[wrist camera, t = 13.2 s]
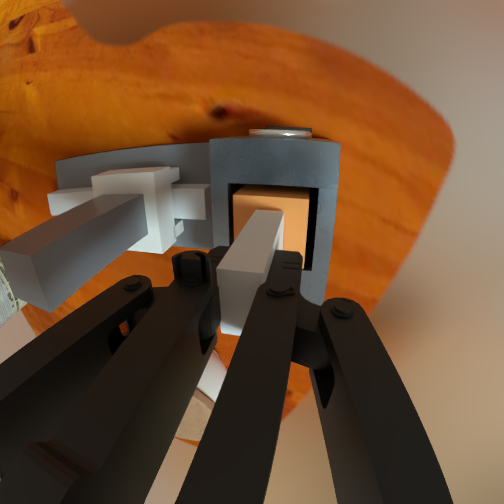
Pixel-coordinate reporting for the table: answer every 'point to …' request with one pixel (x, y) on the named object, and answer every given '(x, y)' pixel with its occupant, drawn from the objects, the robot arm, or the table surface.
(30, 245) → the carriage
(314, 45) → the table surface
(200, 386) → the lidded bowl
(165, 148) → the rail bed
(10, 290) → the coffee can
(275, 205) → the button
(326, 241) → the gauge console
